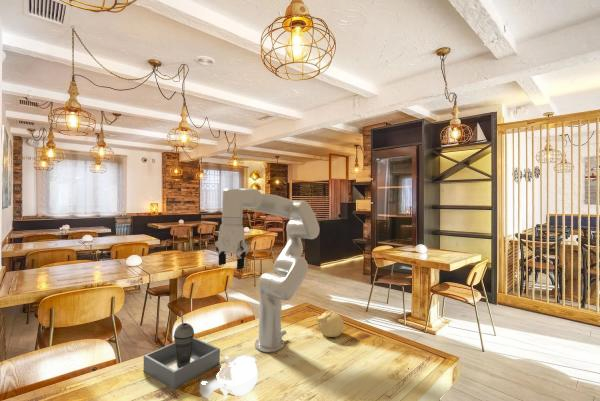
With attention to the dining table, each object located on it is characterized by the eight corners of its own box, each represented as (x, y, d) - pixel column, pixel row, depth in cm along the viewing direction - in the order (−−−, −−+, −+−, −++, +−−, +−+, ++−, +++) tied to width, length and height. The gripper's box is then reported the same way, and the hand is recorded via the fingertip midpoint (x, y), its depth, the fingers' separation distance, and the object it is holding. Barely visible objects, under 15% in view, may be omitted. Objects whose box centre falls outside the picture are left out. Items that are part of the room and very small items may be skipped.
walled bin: (189, 349, 133) (190, 335, 133) (219, 363, 123) (219, 348, 123) (143, 371, 116) (143, 355, 116) (173, 390, 106) (174, 372, 106)
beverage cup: (187, 371, 115) (188, 317, 115) (168, 368, 117) (169, 314, 116) (197, 361, 122) (198, 309, 122) (180, 358, 124) (181, 307, 123)
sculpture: (325, 326, 160) (326, 305, 159) (347, 333, 152) (348, 311, 152) (313, 334, 150) (313, 312, 150) (335, 342, 143) (336, 318, 143)
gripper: (208, 220, 121) (207, 264, 122) (242, 224, 112) (240, 272, 112) (223, 219, 128) (222, 261, 128) (256, 222, 118) (255, 268, 119)
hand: (231, 266), depth 120 cm, fingers open, 9 cm apart
